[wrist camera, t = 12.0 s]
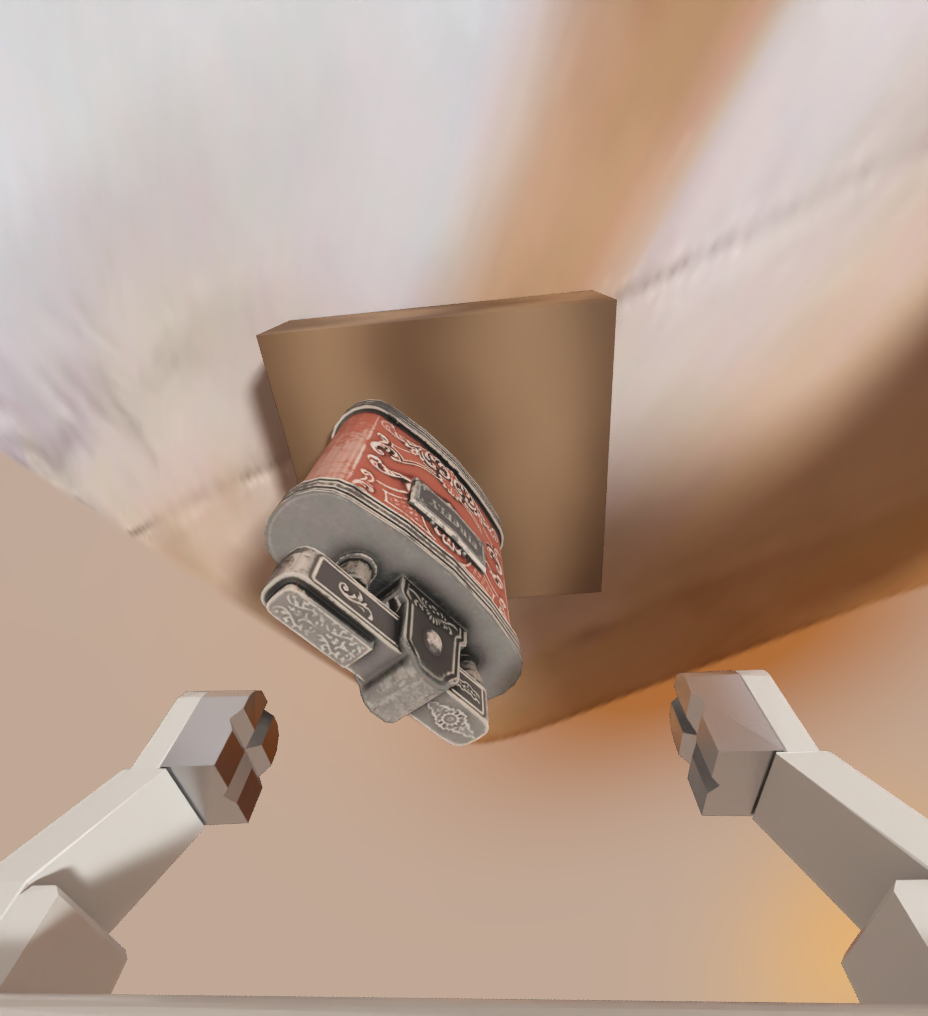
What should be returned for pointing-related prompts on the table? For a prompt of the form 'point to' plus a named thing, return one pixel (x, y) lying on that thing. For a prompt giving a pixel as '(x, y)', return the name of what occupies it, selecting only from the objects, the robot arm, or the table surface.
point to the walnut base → (477, 411)
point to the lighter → (397, 574)
